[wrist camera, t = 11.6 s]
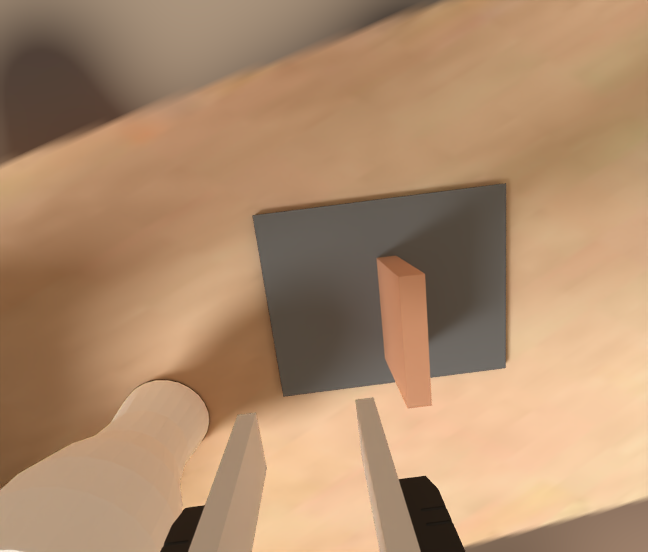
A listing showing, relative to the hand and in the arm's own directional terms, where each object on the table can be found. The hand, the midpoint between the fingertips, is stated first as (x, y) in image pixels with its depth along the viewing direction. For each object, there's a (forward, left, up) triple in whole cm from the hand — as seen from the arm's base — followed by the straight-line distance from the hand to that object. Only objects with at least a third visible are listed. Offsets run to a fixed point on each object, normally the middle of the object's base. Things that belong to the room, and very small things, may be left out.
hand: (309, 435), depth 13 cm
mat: (+7, +1, -15) cm, 16 cm away
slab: (+7, 0, -14) cm, 16 cm away
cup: (-14, -8, -15) cm, 22 cm away
